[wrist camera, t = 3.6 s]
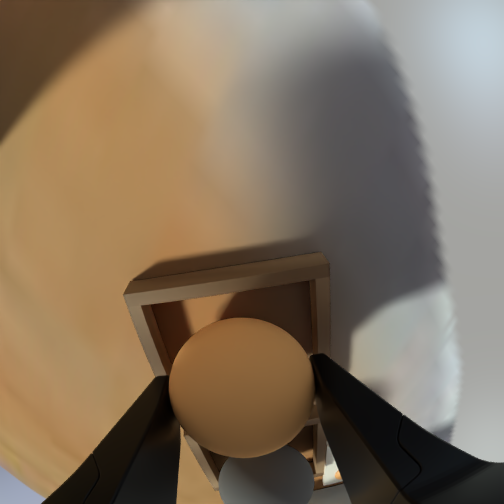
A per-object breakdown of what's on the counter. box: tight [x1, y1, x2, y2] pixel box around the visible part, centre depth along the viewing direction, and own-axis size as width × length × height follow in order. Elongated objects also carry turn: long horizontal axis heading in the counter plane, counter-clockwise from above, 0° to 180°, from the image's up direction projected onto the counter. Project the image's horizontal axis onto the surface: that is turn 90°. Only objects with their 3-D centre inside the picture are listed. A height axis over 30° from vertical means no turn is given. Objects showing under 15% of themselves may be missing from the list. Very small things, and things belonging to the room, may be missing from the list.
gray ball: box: [218, 445, 314, 504], centre depth 11 cm, size 4×4×4 cm
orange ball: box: [169, 318, 316, 458], centre depth 8 cm, size 4×4×4 cm
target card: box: [323, 441, 343, 486], centre depth 14 cm, size 5×3×1 cm, turn 8°
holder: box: [123, 252, 330, 491], centre depth 11 cm, size 12×6×1 cm, turn 8°
